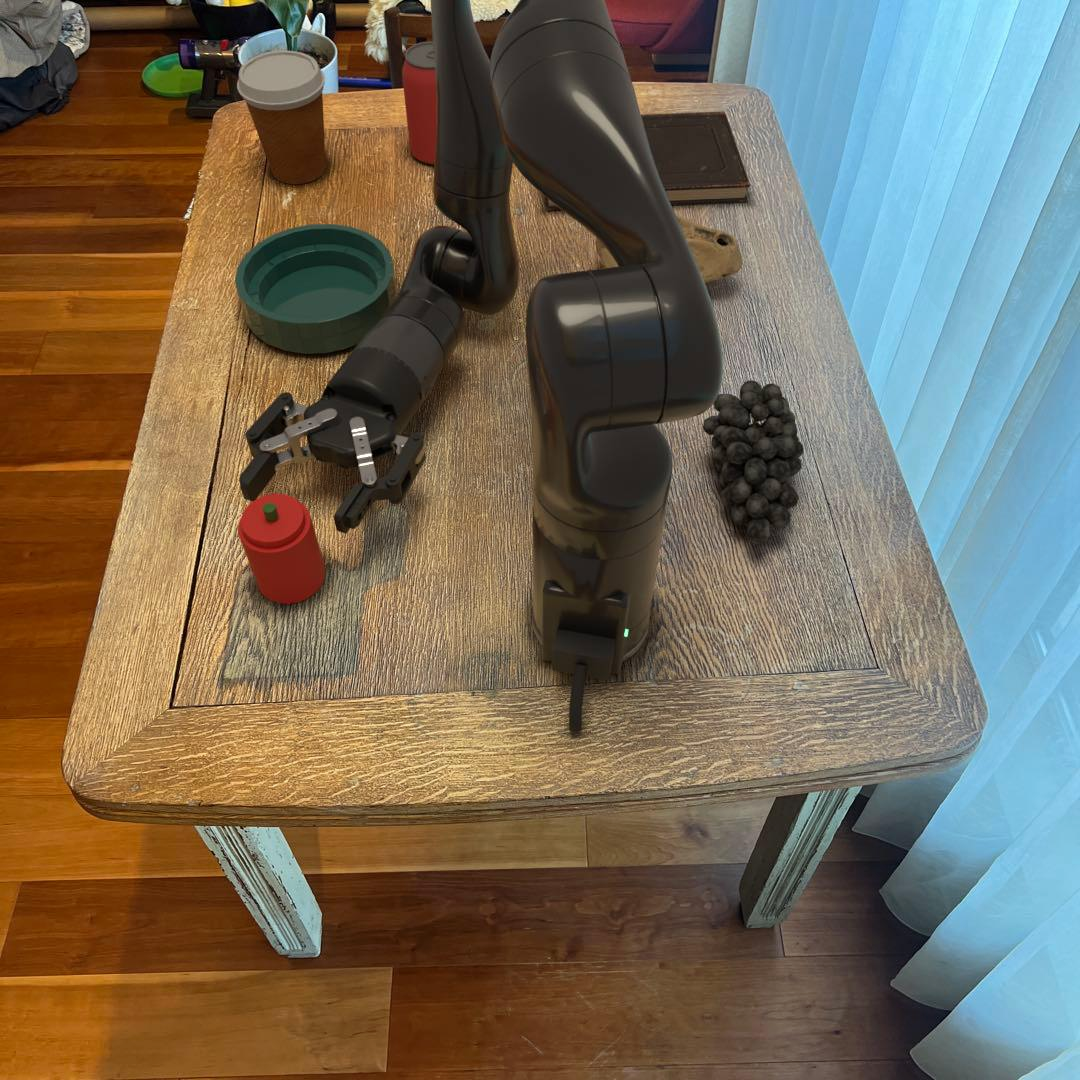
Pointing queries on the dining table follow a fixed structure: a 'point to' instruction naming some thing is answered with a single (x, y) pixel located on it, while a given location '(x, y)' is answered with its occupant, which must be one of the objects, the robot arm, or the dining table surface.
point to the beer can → (421, 100)
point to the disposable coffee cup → (287, 112)
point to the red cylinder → (282, 548)
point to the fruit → (756, 457)
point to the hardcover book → (694, 158)
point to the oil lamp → (700, 251)
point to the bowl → (316, 287)
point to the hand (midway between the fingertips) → (292, 510)
